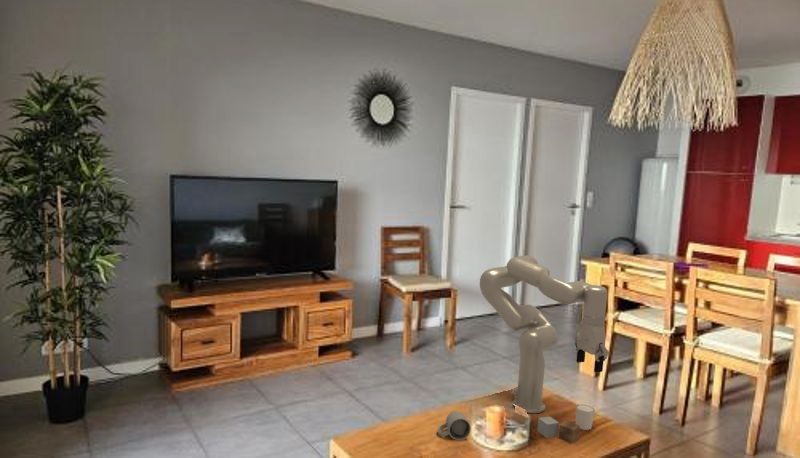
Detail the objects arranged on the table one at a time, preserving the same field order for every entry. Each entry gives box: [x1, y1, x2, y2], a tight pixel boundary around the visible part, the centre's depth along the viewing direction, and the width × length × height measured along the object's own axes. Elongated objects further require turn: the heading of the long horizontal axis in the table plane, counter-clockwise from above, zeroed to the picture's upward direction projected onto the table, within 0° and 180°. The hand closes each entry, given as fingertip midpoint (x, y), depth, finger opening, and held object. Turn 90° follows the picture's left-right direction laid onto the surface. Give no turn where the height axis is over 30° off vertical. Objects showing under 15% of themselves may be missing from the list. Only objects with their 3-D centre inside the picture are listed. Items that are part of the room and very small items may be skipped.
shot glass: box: [574, 404, 596, 431], centre depth 199 cm, size 7×7×7 cm
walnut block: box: [558, 420, 580, 445], centre depth 189 cm, size 5×5×5 cm
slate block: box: [536, 415, 560, 439], centre depth 192 cm, size 5×5×5 cm
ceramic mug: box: [437, 410, 472, 441], centre depth 187 cm, size 11×8×8 cm
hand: (589, 366), depth 194 cm, fingers open, 9 cm apart
